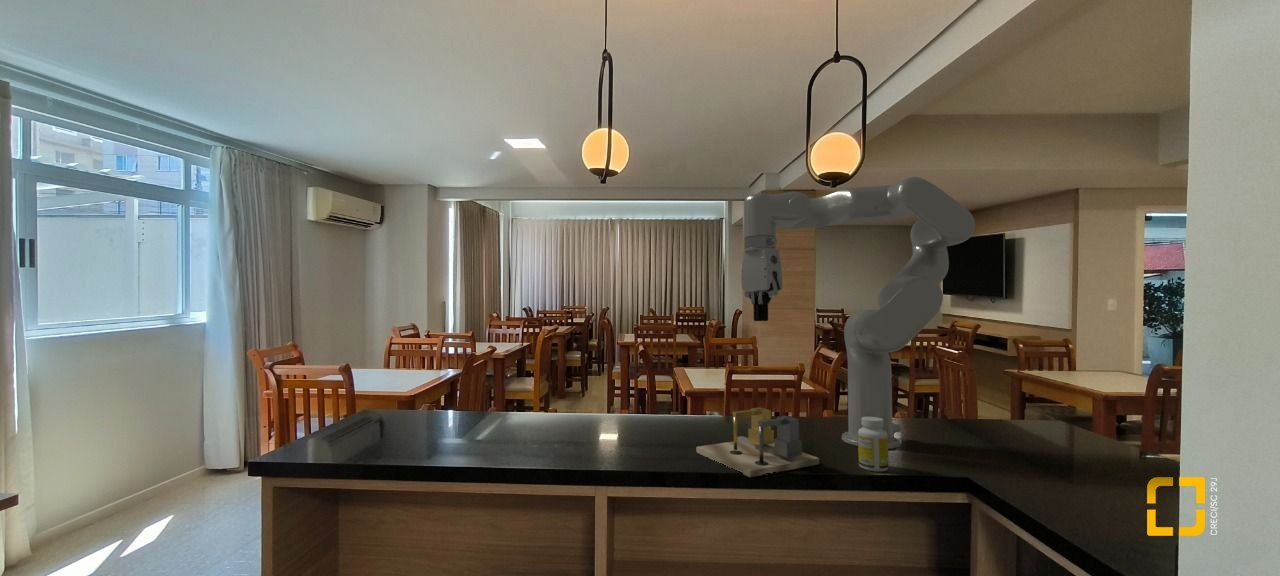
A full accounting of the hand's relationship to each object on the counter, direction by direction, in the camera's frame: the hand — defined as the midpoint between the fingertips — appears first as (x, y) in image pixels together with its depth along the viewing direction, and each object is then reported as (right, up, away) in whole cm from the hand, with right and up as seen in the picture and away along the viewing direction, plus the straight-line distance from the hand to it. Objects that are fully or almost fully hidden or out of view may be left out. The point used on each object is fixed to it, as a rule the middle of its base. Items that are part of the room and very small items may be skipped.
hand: (760, 320), depth 118 cm
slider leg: (-5, -26, -13) cm, 30 cm away
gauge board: (-5, -28, -14) cm, 32 cm away
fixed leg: (-1, -27, -20) cm, 33 cm away
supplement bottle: (+17, -28, -20) cm, 39 cm away
